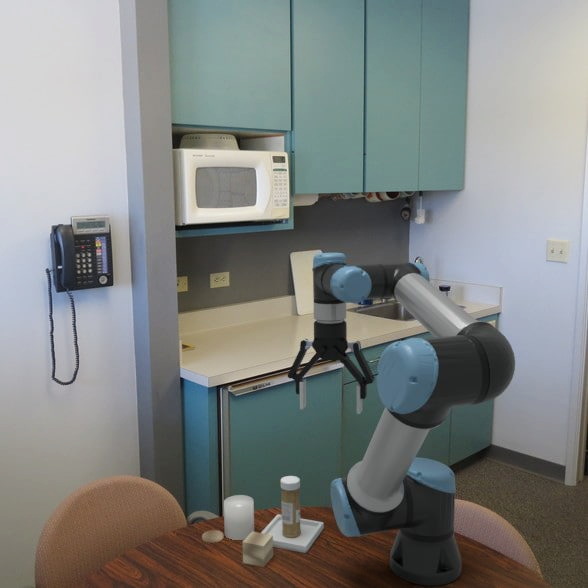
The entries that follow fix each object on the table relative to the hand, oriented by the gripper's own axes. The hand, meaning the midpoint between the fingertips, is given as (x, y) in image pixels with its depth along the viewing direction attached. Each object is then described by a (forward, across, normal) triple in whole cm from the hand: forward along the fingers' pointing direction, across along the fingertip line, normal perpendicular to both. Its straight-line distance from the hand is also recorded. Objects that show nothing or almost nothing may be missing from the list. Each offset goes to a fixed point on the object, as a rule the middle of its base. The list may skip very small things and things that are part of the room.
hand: (330, 410), depth 161 cm
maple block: (+30, +12, +18) cm, 37 cm away
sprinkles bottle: (+29, +8, +6) cm, 31 cm away
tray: (+29, +8, +6) cm, 31 cm away
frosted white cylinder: (+29, +21, +8) cm, 37 cm away
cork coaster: (+30, +26, +12) cm, 41 cm away
